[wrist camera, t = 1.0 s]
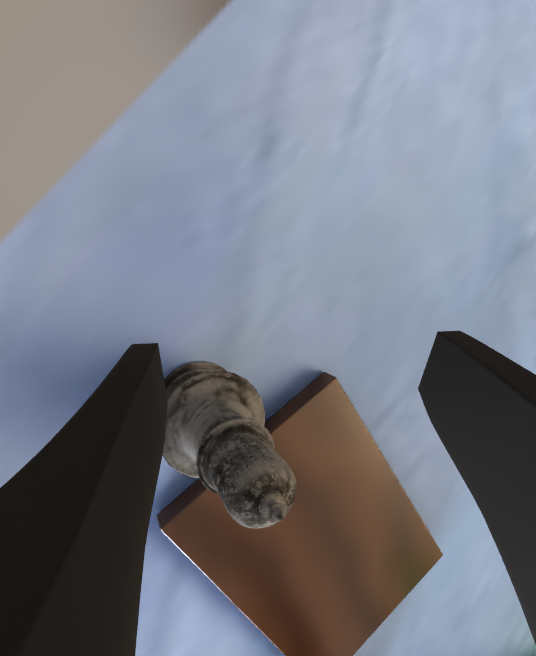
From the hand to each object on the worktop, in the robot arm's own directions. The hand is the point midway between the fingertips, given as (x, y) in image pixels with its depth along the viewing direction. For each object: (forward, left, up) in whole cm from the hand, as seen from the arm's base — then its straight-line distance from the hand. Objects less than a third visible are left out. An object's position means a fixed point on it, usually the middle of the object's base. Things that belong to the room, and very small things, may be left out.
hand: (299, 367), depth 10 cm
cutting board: (-2, -19, -14) cm, 24 cm away
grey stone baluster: (-3, -5, -14) cm, 15 cm away
